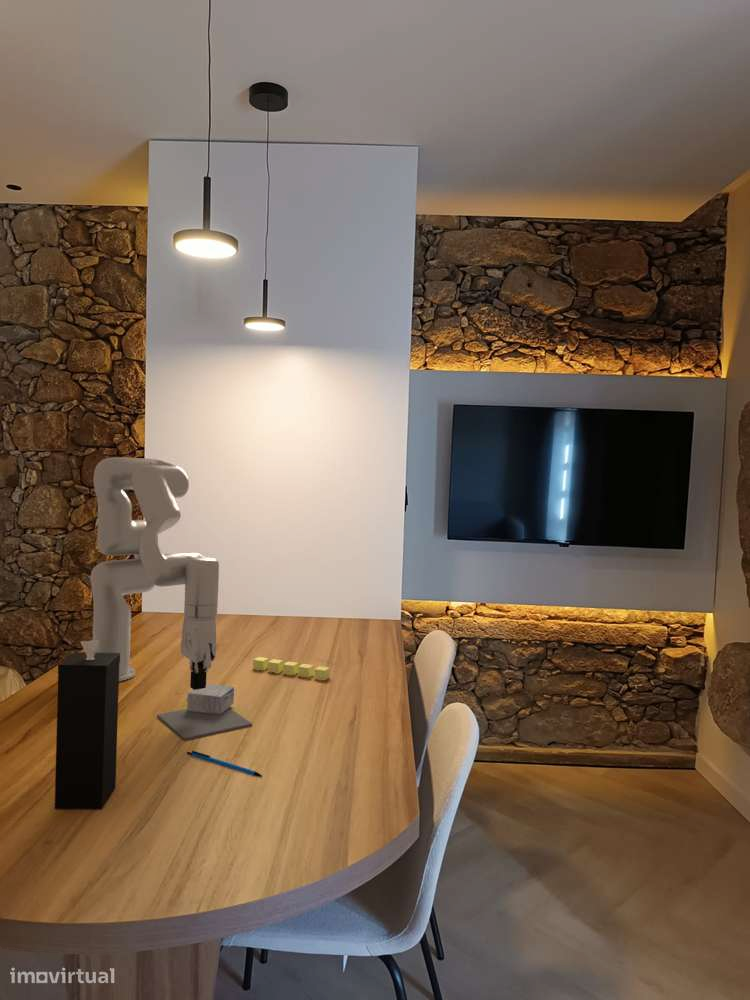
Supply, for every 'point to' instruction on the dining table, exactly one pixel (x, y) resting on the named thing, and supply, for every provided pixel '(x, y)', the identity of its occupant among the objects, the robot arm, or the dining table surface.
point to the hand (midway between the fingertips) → (198, 687)
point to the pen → (223, 763)
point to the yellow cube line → (291, 668)
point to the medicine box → (211, 699)
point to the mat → (202, 722)
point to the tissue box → (86, 728)
